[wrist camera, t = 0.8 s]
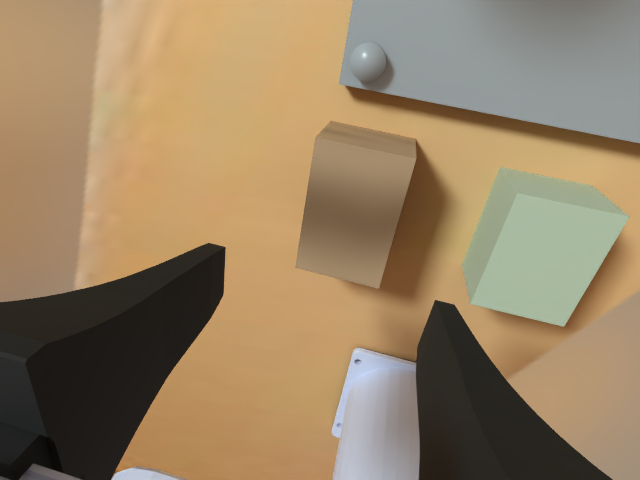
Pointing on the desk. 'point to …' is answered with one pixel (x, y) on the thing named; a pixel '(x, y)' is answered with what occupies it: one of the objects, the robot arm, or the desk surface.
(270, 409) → the desk surface
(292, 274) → the desk surface
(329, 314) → the desk surface
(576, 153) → the desk surface
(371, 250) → the walnut brick
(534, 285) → the sage brick
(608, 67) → the baseplate
